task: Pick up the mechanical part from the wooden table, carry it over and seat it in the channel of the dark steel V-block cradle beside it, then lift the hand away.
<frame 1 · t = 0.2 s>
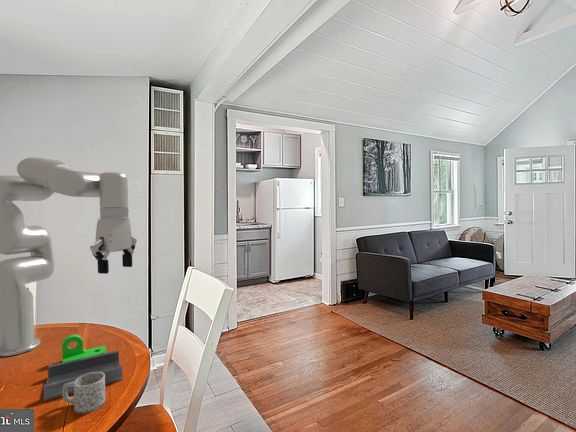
hand: (116, 269, 97), 30 cm above the table, tool pointing down, fingers open, 9 cm apart
cradle: (85, 378, 92), on the table
mechanical part: (85, 360, 103), on the table
mug: (83, 405, 80), on the table
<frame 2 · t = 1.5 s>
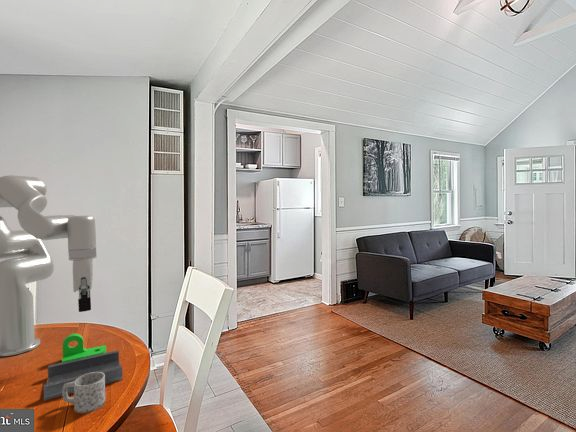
hand: (84, 306, 102), 17 cm above the table, tool pointing down, fingers open, 9 cm apart
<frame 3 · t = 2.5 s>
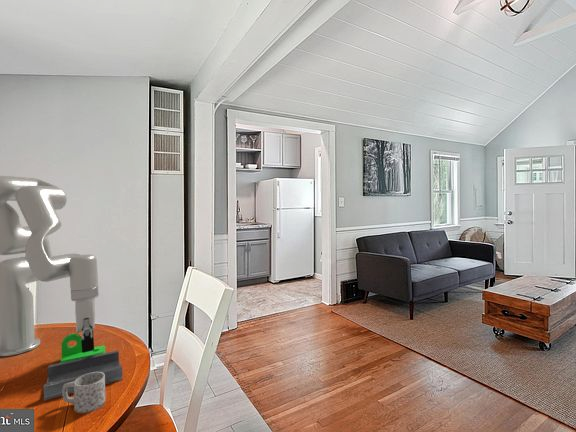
hand: (88, 345, 103), 5 cm above the table, tool pointing down, fingers open, 9 cm apart
mechanical part: (83, 359, 104), on the table, touching gripper
everything else where it was.
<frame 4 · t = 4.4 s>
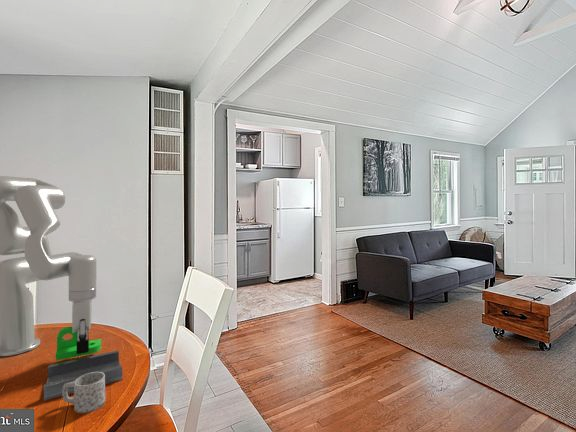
hand: (82, 347, 103), 4 cm above the table, tool pointing down, fingers closed on mechanical part, 6 cm apart
mechanical part: (79, 352, 103), point 2 cm above the table, touching gripper
everything else where it was.
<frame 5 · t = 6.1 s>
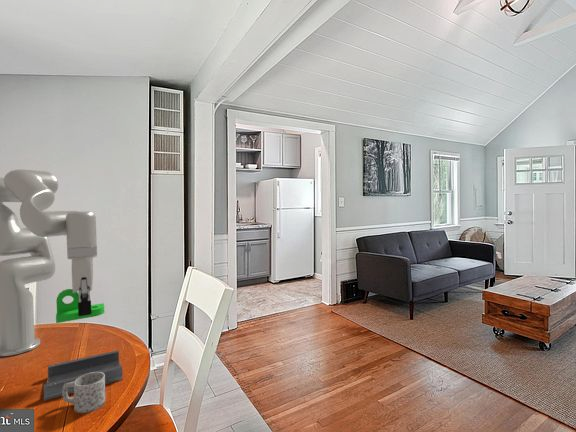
hand: (84, 311, 96), 18 cm above the table, tool pointing down, fingers closed on mechanical part, 6 cm apart
mechanical part: (81, 316, 96), point 17 cm above the table, touching gripper
everything else where it was.
when the fingers open (4 cm above the table, at t = 8.8 s): mechanical part drops 1 cm, resting on cradle.
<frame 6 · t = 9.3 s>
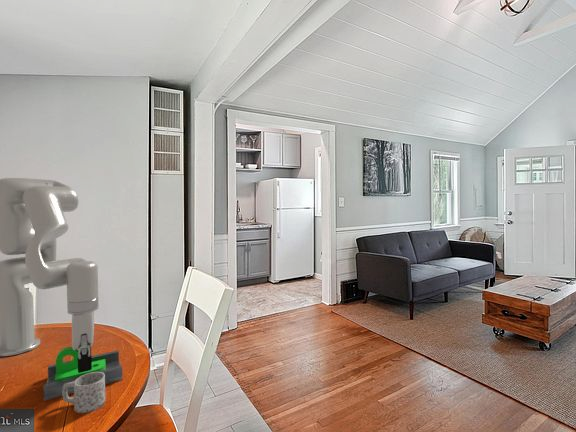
hand: (84, 363, 92), 4 cm above the table, tool pointing down, fingers open, 9 cm apart
mechanical part: (81, 376, 92), point 1 cm above the table, touching cradle
everything else where it was.
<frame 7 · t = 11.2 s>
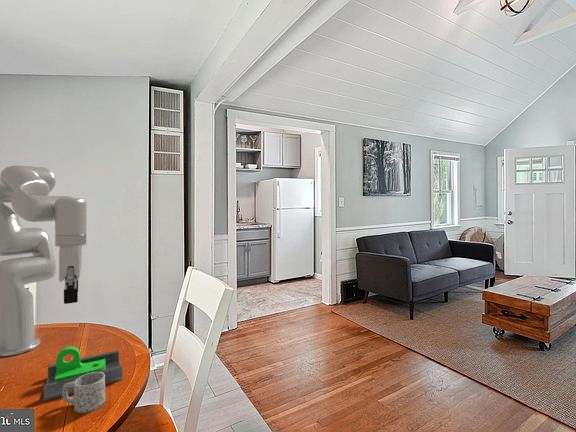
hand: (71, 297, 93), 23 cm above the table, tool pointing down, fingers open, 9 cm apart
nothing on the table moved.
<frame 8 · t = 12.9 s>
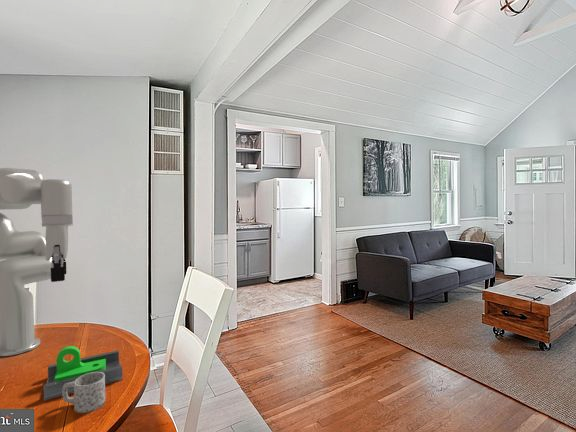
hand: (59, 277, 96), 28 cm above the table, tool pointing down, fingers open, 9 cm apart
nothing on the table moved.
at the end: mechanical part inside the target area on the cradle (1.1 cm from its centre), point 0.8 cm above the cradle's base; mechanical part tilted 0°; the gripper is holding nothing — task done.
